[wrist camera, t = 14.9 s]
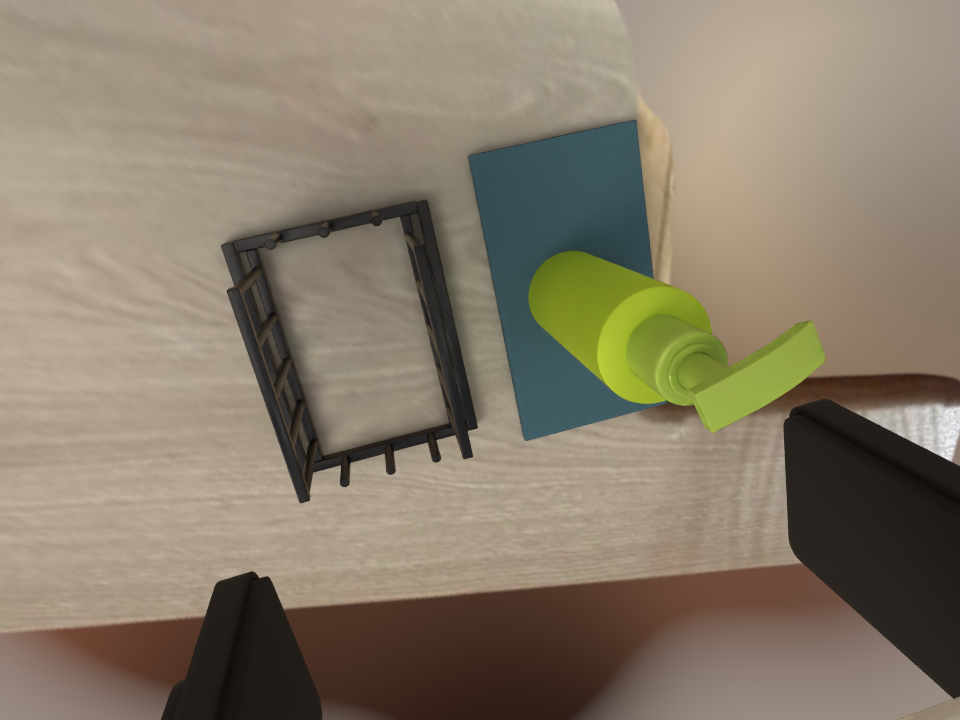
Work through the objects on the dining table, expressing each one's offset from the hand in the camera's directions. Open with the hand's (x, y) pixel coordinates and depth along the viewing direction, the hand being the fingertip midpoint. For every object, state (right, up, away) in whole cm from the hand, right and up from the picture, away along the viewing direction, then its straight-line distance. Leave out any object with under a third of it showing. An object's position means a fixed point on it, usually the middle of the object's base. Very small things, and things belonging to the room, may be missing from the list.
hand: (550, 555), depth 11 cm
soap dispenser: (+5, +8, +31) cm, 33 cm away
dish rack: (-9, +5, +30) cm, 32 cm away
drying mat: (+5, +8, +32) cm, 33 cm away
